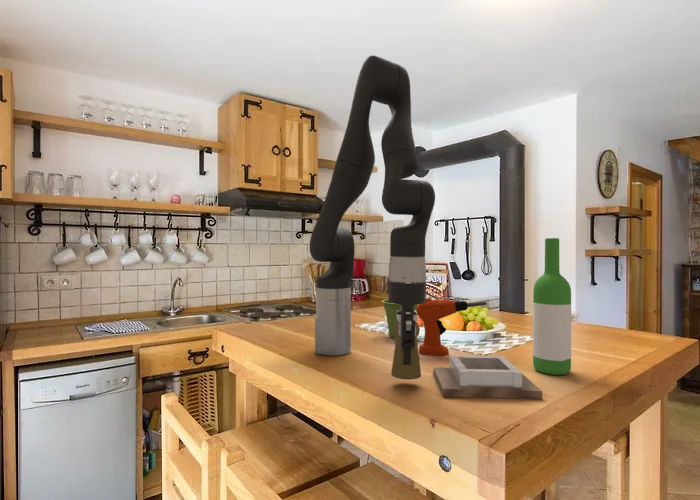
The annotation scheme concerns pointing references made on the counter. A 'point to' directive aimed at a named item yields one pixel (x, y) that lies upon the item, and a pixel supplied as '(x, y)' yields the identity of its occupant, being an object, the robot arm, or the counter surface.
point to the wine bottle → (552, 316)
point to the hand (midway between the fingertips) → (406, 363)
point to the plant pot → (392, 315)
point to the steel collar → (485, 372)
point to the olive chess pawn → (406, 370)
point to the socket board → (452, 388)
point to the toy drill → (438, 322)
